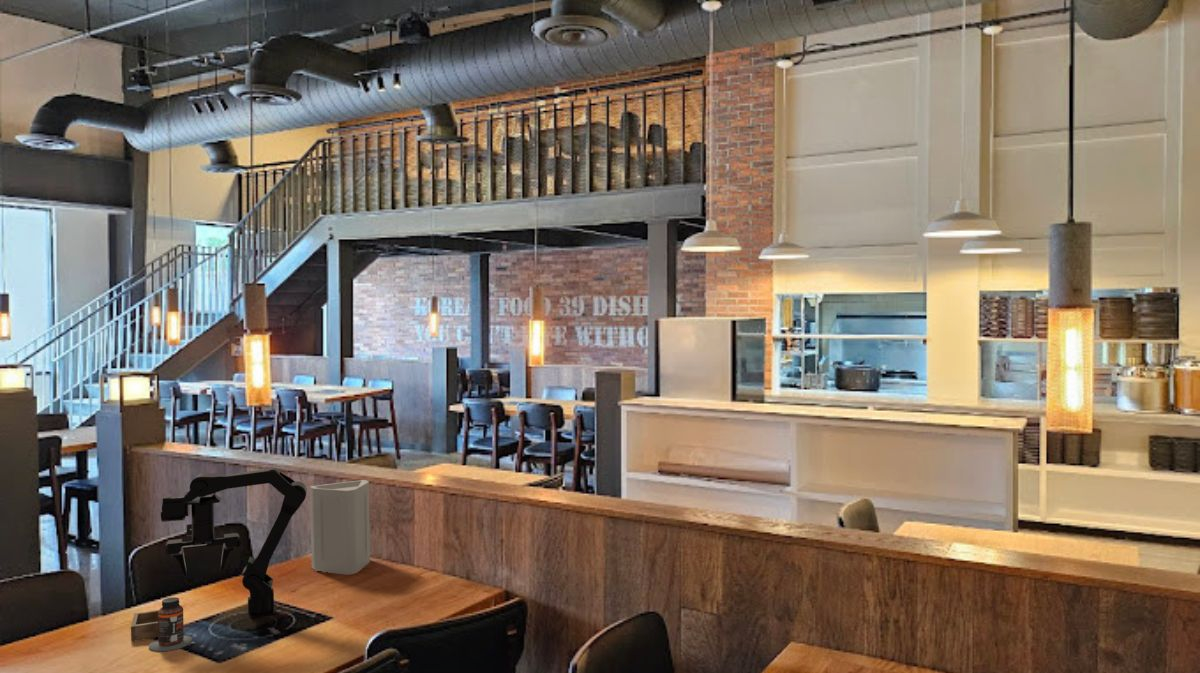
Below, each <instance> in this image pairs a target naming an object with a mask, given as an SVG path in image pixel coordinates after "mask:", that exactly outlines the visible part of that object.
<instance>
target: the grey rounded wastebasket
mask: <svg viewBox="0 0 1200 673" xmlns="http://www.w3.org/2000/svg"><path fill="white" fill-rule="evenodd" d="M309 487H310V490H309V491H310V493H309V494H310V537H311V538H310V539H311V540H310V542H311V569H312V568H313V569H314V570H315V571H314V570H313V569H312V570H313V571H314V572H317V571H322V572H321V573H326V572H328V573H329V574H337V575H347V576H348V575H354V574H357V573H358V572H359V571H361V570H362V569H363V568H364V567H366V566H367V565H368V564H369V563H371V533H370V531H371V526H370V518H371V517H370V516H371V515H370V481H369V480H367V479H361V480H352V481H343V482H334V483H327V484H325V483H324V484H317V485H311V486H309ZM328 573H327V574H328Z"/></svg>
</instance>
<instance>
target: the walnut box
mask: <svg viewBox="0 0 1200 673" xmlns="http://www.w3.org/2000/svg"><path fill="white" fill-rule="evenodd" d="M159 610H160V609H154V610H149V611H147V610H146V611H140V612H135V613H134V614H133V618H132V621H131V623H130V624H131V625H130V642H131V641H133V642H136V641H135V640H139V641H144V640H143V639H146V640H151V639H150V638H152V639H157V638H156V637H158V611H159Z"/></svg>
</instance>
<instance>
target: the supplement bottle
mask: <svg viewBox="0 0 1200 673" xmlns="http://www.w3.org/2000/svg"><path fill="white" fill-rule="evenodd" d="M161 606H162V607H161V608H159V609H158V610H159V611H158V638H157V640H158V642H159V644H160V645H162V646H170V645H175V644H178V643H180V642H182V641H183V638H184V635H185V632H184V626H185V625H184V607H183V606H182V605H180V598H179V597H176V596H175V597H173V596H172V597H166V598H164V599H163V600H162V601H161Z"/></svg>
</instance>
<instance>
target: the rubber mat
mask: <svg viewBox="0 0 1200 673" xmlns="http://www.w3.org/2000/svg"><path fill="white" fill-rule="evenodd" d="M192 642H193V638H192V637H191V636H189V635H185V634H184V638H183V641H182V642H180V643H178V644H175V645H170V646H162V645H160V644H159V642H158V639H156V640H154V641H152V642H151V643H149V645H148V649H149V651H152V652H155V651H156V652H155V653H162V652H164V653H165V652H173V651H176V650H177V651H178V650H179V649H183V648H186V647H187V646H188V645H190V644H191V643H192ZM172 650H173V651H172Z"/></svg>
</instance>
